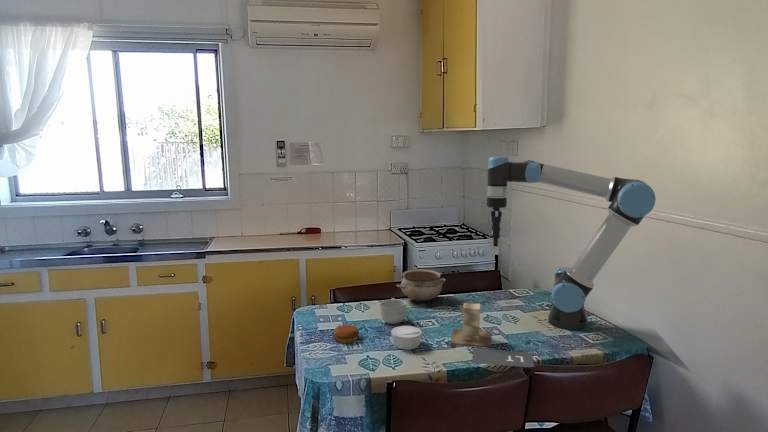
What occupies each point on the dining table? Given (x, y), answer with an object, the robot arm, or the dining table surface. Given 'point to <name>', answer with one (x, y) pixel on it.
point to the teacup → (393, 310)
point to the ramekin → (406, 337)
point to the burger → (346, 333)
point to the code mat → (502, 358)
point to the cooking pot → (421, 284)
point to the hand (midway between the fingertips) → (494, 250)
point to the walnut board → (457, 340)
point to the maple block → (471, 321)
